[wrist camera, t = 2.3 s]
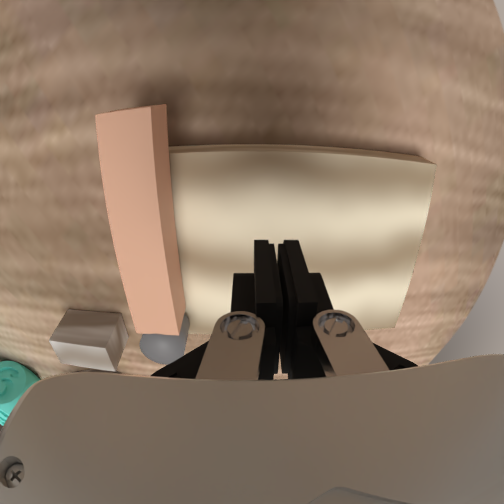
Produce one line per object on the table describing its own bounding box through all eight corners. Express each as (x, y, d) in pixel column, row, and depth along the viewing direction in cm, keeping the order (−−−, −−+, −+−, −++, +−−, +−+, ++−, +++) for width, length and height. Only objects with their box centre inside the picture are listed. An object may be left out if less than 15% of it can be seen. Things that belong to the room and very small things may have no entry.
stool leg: (191, 337, 24) (186, 365, 21) (153, 335, 24) (145, 362, 21) (168, 103, 16) (152, 106, 13) (116, 109, 16) (93, 115, 13)
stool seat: (28, 164, 19) (-7, 182, 15) (419, 156, 20) (452, 173, 16) (77, 331, 28) (60, 363, 24) (376, 335, 28) (390, 369, 24)
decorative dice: (16, 387, 35) (-3, 425, 28) (-4, 353, 31) (-28, 393, 24) (54, 401, 36) (37, 443, 29) (36, 367, 32) (13, 413, 25)
